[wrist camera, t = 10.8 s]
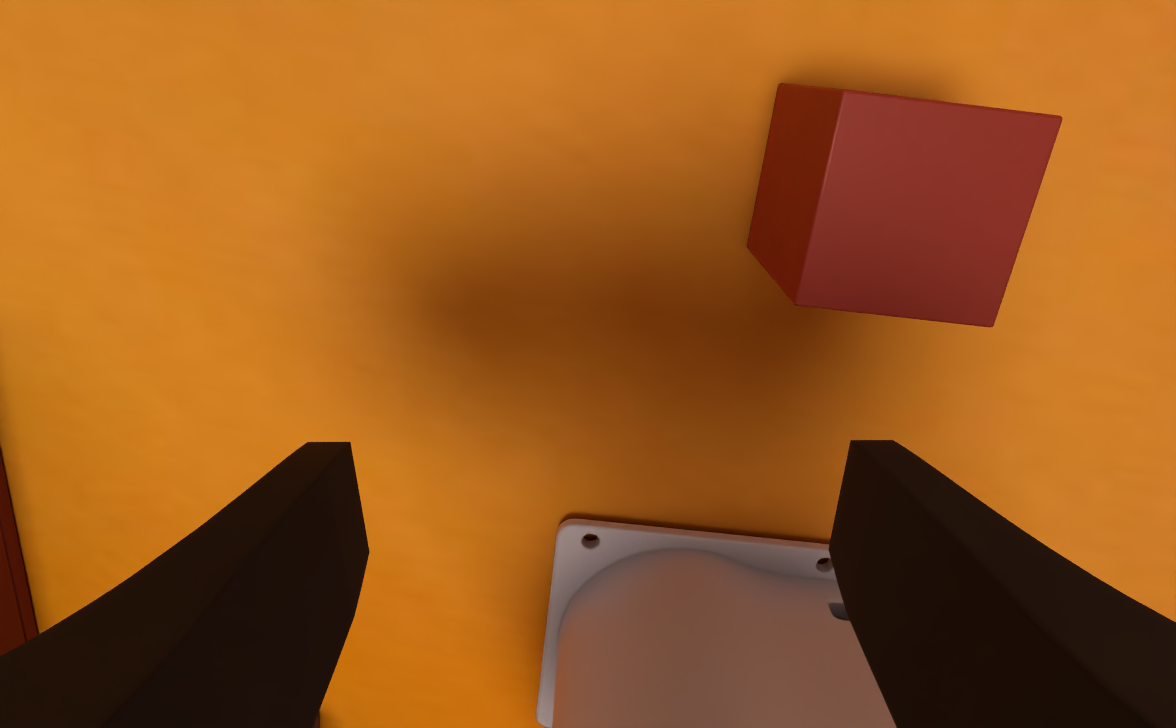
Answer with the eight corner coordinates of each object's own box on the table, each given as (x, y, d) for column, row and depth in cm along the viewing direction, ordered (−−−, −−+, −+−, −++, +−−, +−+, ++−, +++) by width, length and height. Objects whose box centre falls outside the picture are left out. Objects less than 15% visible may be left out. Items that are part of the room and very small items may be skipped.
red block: (943, 103, 18) (1064, 116, 13) (898, 265, 19) (993, 328, 15) (778, 83, 18) (842, 89, 13) (746, 247, 19) (793, 306, 15)
